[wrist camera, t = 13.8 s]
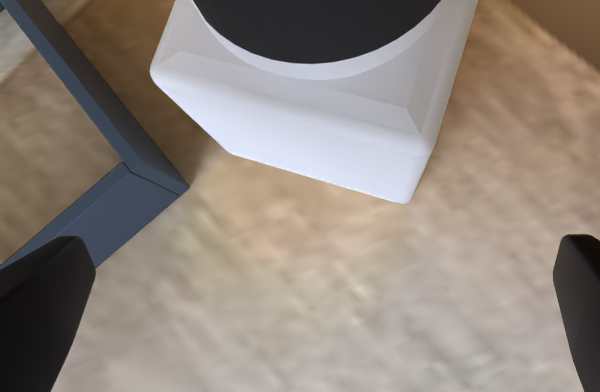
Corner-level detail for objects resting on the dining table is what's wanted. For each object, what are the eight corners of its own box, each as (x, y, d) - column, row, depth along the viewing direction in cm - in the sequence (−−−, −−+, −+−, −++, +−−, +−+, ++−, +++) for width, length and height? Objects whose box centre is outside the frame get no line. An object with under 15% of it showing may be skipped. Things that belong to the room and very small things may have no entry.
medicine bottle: (463, 27, 18) (618, -421, 7) (409, 208, 18) (480, 49, 6) (284, -13, 20) (158, -442, 8) (225, 153, 19) (-13, -63, 7)
